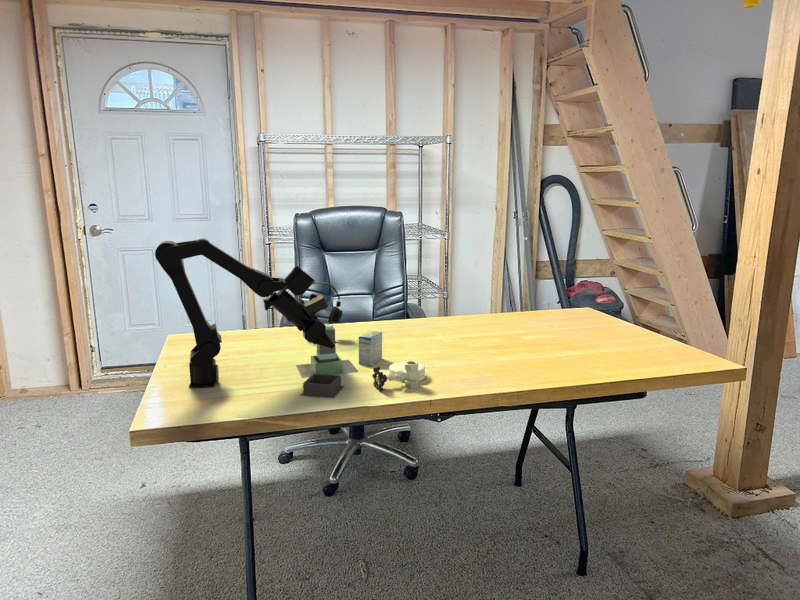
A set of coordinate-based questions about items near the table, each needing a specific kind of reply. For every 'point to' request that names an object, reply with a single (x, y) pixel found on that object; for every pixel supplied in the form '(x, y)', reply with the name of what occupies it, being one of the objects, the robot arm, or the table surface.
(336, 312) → the headphones
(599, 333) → the table surface
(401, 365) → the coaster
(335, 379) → the box
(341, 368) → the port
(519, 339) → the table surface
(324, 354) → the plug
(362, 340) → the medicine box
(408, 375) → the valve
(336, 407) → the table surface
